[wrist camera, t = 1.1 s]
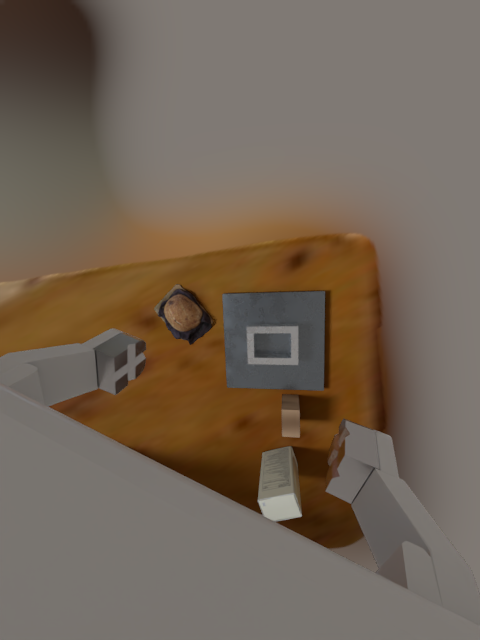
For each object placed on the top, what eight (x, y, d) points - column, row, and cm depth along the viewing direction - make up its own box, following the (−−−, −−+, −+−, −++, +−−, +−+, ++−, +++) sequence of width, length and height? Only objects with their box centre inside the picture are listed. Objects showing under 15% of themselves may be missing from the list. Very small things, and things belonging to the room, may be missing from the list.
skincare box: (268, 470, 56) (263, 524, 44) (261, 451, 55) (255, 500, 43) (299, 464, 54) (303, 518, 42) (293, 444, 54) (294, 494, 42)
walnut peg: (298, 419, 53) (299, 437, 47) (282, 418, 53) (282, 436, 47) (298, 394, 52) (299, 410, 46) (282, 394, 52) (281, 409, 46)
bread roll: (153, 309, 54) (143, 311, 51) (181, 280, 52) (173, 280, 49) (189, 348, 55) (182, 354, 51) (218, 321, 52) (213, 324, 49)
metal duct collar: (323, 388, 51) (325, 396, 47) (228, 385, 54) (224, 392, 50) (324, 290, 48) (327, 292, 44) (223, 293, 51) (219, 295, 47)
